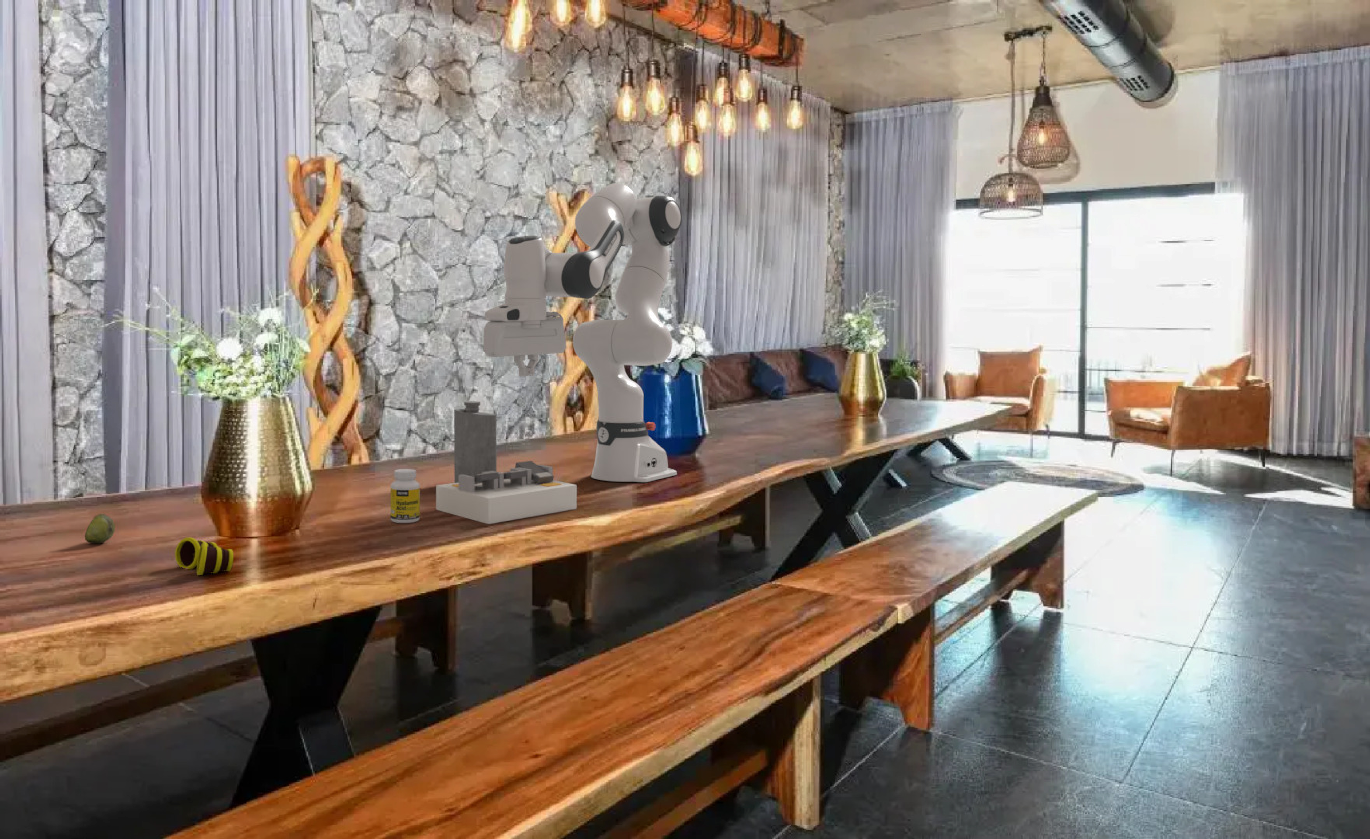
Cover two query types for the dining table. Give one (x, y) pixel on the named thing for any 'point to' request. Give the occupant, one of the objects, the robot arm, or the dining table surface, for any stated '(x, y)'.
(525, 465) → the rocker
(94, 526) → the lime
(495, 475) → the rocker
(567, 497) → the switch console
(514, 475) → the rocker
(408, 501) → the supplement bottle
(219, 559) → the brown and yellow tube
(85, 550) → the dining table surface
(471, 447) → the hip flask
